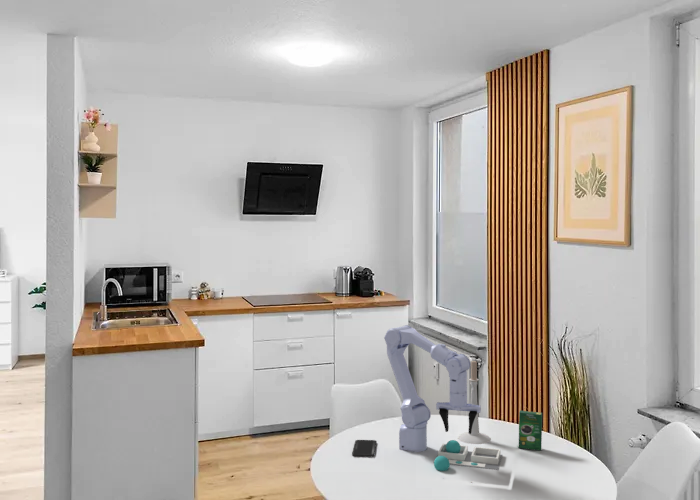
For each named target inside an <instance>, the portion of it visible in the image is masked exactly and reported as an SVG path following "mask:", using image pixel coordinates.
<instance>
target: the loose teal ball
mask: <svg viewBox="0 0 700 500" xmlns="http://www.w3.org/2000/svg"><path fill="white" fill-rule="evenodd" d="M437 456H438V455H437ZM437 456H436V457H437ZM433 466H434V468H435V470H436V471H441V472H444V471H448V470H449V468H450V466H451V465H450V463H449V460H448V459H447V458H446V457H445V456H438V457H437V458H435V459H434V461H433Z"/></svg>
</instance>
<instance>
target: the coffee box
mask: <svg viewBox="0 0 700 500" xmlns="http://www.w3.org/2000/svg"><path fill="white" fill-rule="evenodd" d="M518 415H519V416H518V449H522V450H532V451H539V452H540V451H542V439H543V438H542V436H543V412H537V411H527V410H519V414H518Z"/></svg>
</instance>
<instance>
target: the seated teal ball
mask: <svg viewBox="0 0 700 500" xmlns="http://www.w3.org/2000/svg"><path fill="white" fill-rule="evenodd" d="M445 444H446V451H447V452H448V453H457V454H458V453H459V452H460V449H461V447H460V442H459V441H457V440H455V439H452V440H449V441H447V443H445Z"/></svg>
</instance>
